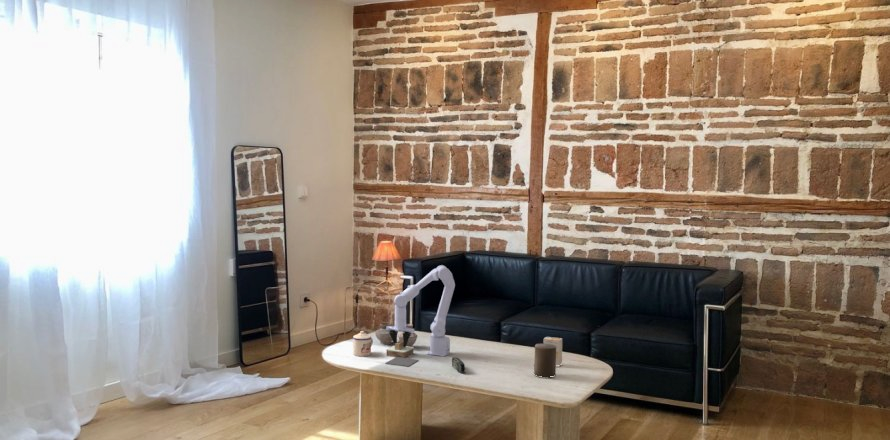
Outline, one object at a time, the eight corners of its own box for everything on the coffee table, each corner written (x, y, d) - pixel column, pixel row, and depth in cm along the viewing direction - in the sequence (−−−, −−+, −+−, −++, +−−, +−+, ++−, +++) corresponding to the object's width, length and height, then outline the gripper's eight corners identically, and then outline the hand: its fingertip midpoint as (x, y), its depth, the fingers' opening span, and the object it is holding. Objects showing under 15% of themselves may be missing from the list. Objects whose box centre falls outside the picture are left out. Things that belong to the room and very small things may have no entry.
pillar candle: (550, 379, 332) (551, 346, 331) (530, 375, 337) (531, 343, 336) (558, 374, 340) (560, 342, 339) (539, 371, 345) (540, 339, 344)
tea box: (413, 354, 373) (413, 348, 373) (404, 359, 364) (404, 352, 364) (395, 352, 377) (395, 345, 377) (386, 356, 368) (386, 350, 368)
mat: (418, 360, 360) (418, 359, 360) (408, 366, 349) (408, 365, 349) (396, 357, 365) (396, 356, 365) (385, 363, 354) (385, 362, 354)
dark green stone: (451, 356, 351) (461, 364, 337) (457, 356, 352) (467, 363, 338) (450, 367, 351) (461, 375, 337) (457, 366, 352) (467, 374, 338)
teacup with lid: (362, 357, 364) (362, 334, 363) (349, 354, 370) (349, 331, 369) (378, 352, 374) (379, 329, 373) (365, 349, 379) (365, 327, 378)
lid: (413, 349, 373) (413, 341, 373) (404, 354, 364) (404, 345, 364) (396, 347, 377) (396, 339, 377) (386, 351, 368) (386, 343, 368)
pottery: (409, 351, 378) (409, 328, 377) (370, 344, 391) (370, 321, 390) (422, 346, 387) (422, 324, 386) (383, 340, 401) (384, 318, 400)
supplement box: (562, 365, 356) (563, 338, 355) (559, 367, 352) (560, 340, 350) (545, 362, 359) (546, 336, 358) (542, 365, 355) (543, 338, 354)
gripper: (383, 319, 368) (383, 346, 369) (410, 321, 363) (409, 349, 364) (390, 316, 375) (389, 343, 376) (416, 319, 369) (415, 346, 370)
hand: (400, 345), depth 370 cm, fingers open, 5 cm apart
